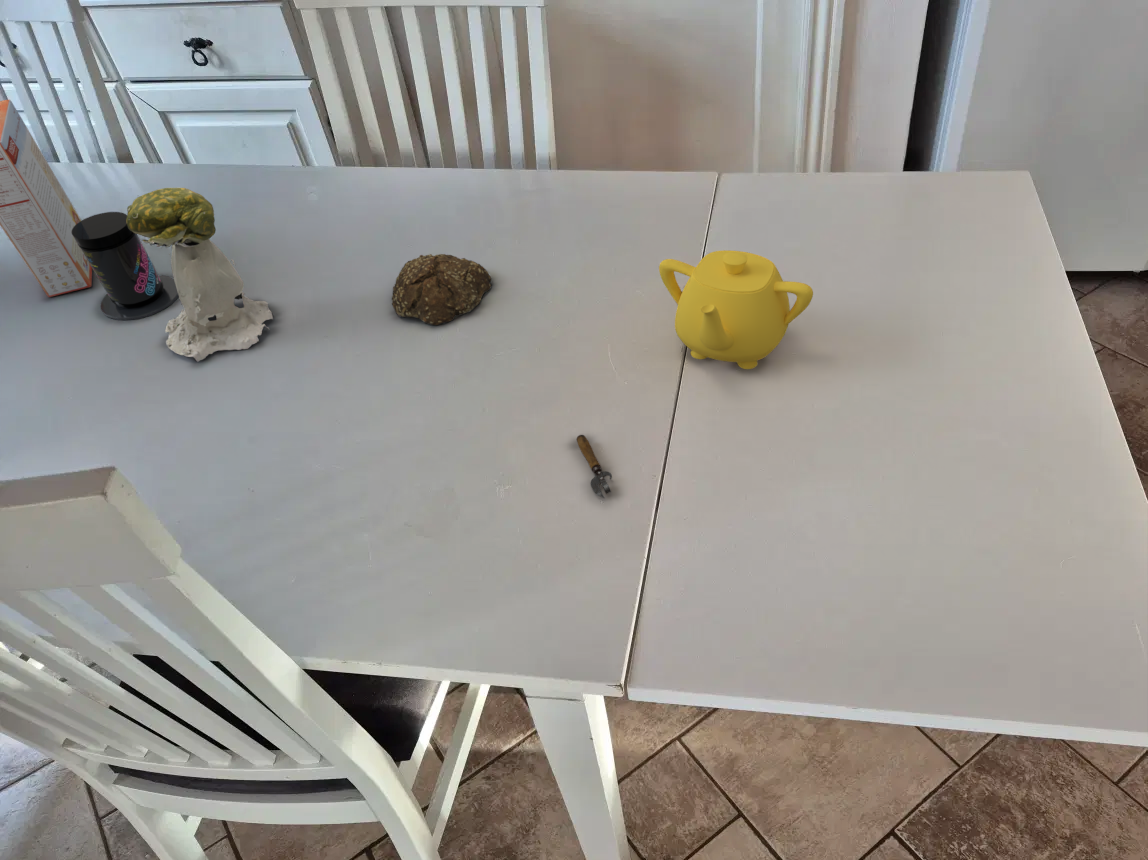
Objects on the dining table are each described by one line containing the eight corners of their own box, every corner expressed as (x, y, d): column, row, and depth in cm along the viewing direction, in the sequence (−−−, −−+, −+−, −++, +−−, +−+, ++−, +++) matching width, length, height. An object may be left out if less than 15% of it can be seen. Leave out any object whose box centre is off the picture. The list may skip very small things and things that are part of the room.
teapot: (649, 332, 103) (645, 245, 94) (750, 300, 107) (755, 214, 98) (702, 397, 94) (703, 308, 86) (810, 360, 98) (822, 271, 89)
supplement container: (139, 314, 109) (98, 243, 102) (101, 304, 111) (58, 233, 104) (177, 287, 114) (141, 216, 106) (140, 278, 116) (102, 208, 108)
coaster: (129, 328, 108) (128, 326, 108) (86, 305, 112) (85, 303, 112) (196, 290, 113) (194, 288, 113) (152, 270, 118) (151, 267, 117)
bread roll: (414, 267, 115) (405, 234, 112) (499, 274, 113) (493, 241, 110) (375, 321, 107) (365, 288, 103) (467, 330, 105) (459, 296, 101)
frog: (166, 318, 109) (93, 185, 96) (267, 291, 112) (210, 159, 99) (171, 369, 102) (93, 232, 88) (279, 338, 105) (219, 202, 92)
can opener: (576, 442, 90) (575, 434, 89) (597, 438, 90) (596, 430, 89) (596, 502, 84) (595, 495, 83) (618, 497, 84) (617, 489, 83)
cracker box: (51, 251, 122) (-39, 105, 107) (95, 240, 124) (13, 96, 109) (44, 300, 113) (-55, 149, 98) (92, 288, 115) (2, 138, 100)
